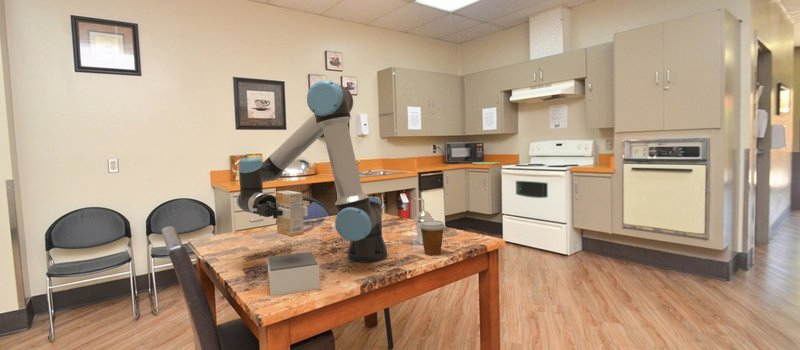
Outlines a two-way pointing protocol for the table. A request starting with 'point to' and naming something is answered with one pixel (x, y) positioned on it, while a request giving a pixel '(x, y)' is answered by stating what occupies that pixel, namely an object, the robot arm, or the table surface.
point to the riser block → (293, 273)
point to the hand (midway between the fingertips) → (297, 212)
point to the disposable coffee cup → (432, 236)
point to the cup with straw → (421, 220)
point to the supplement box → (296, 212)
